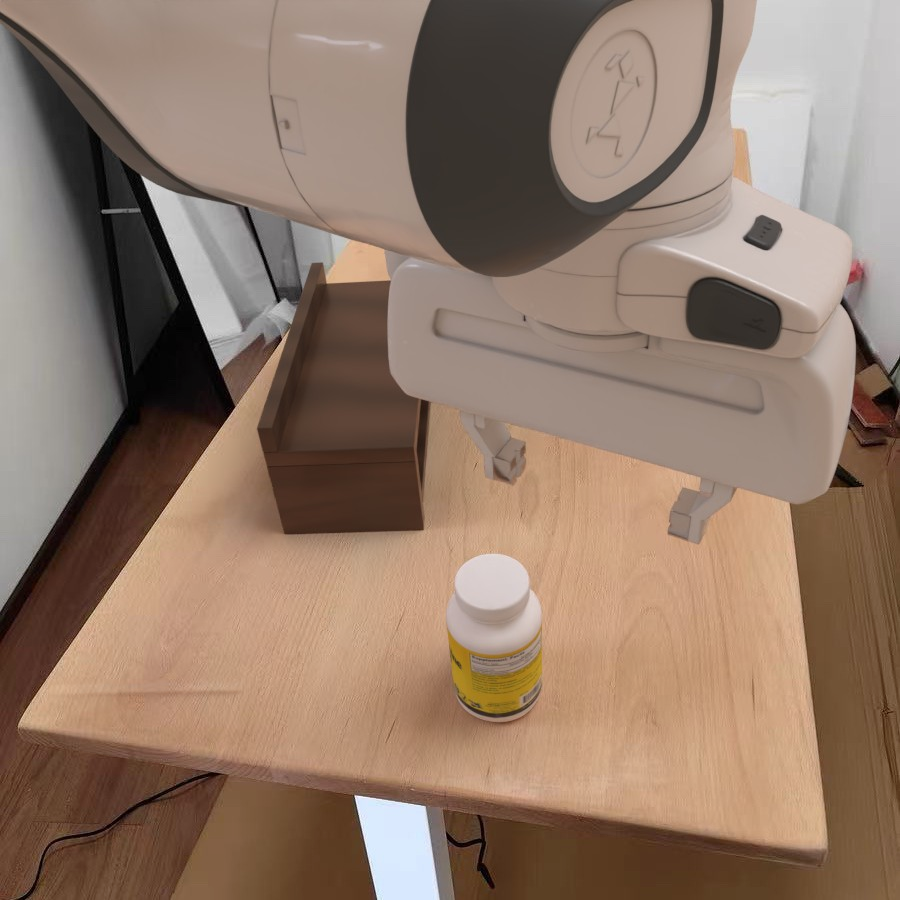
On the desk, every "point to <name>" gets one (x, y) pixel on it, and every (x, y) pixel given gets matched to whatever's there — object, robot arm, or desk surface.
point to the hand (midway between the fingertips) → (592, 502)
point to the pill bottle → (495, 638)
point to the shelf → (343, 418)
